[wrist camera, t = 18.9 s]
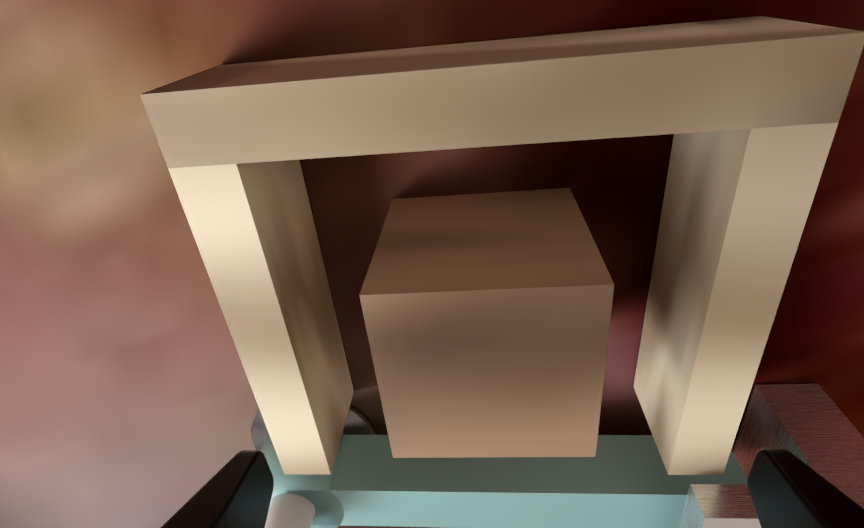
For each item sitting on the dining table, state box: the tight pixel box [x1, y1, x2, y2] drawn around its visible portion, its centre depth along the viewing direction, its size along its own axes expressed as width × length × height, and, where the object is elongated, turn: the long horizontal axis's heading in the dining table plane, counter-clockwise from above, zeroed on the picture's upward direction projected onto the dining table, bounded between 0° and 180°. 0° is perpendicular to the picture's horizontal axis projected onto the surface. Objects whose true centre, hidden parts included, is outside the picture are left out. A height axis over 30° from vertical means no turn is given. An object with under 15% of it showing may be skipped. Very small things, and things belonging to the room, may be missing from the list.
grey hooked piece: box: [251, 384, 864, 528], centre depth 17 cm, size 5×20×5 cm, turn 95°
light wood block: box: [359, 188, 614, 458], centre depth 13 cm, size 5×5×5 cm
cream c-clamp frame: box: [140, 16, 864, 475], centre depth 13 cm, size 12×13×4 cm
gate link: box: [261, 433, 747, 528], centre depth 16 cm, size 17×4×5 cm, turn 94°
